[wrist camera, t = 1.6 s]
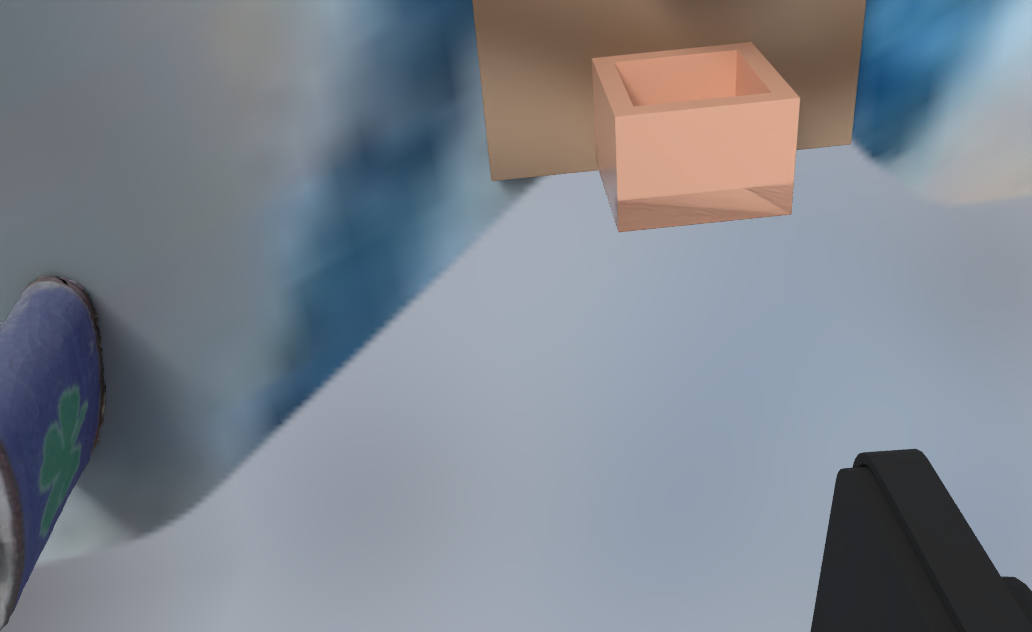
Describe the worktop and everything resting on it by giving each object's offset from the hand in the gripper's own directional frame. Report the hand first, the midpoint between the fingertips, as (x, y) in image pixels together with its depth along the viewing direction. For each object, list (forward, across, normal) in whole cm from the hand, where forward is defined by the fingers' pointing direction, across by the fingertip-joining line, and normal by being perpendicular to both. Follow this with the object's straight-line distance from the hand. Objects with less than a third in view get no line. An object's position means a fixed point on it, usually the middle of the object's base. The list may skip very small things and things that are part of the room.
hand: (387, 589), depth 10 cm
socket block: (+23, -7, +4) cm, 24 cm away
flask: (+25, +15, +14) cm, 32 cm away
